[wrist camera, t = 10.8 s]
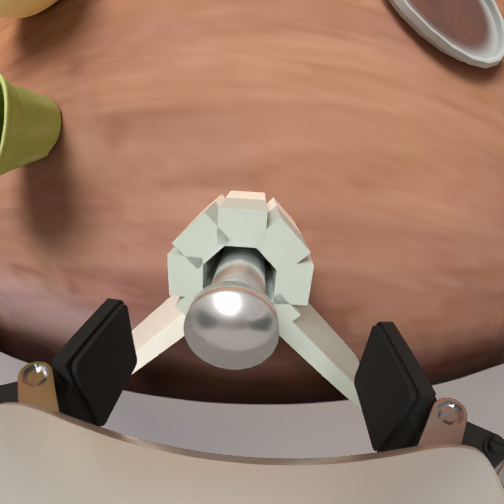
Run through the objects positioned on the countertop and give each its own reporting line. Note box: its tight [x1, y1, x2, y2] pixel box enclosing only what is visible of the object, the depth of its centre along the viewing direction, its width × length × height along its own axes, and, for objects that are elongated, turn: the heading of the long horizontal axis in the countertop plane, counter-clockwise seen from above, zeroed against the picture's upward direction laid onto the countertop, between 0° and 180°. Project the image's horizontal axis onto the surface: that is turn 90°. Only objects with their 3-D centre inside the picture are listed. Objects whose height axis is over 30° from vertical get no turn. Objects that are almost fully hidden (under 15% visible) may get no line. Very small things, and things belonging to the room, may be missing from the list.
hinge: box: [132, 191, 362, 410], centre depth 20 cm, size 24×16×7 cm
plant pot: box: [0, 73, 61, 175], centre depth 15 cm, size 9×9×9 cm
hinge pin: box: [184, 246, 279, 370], centre depth 16 cm, size 4×4×12 cm
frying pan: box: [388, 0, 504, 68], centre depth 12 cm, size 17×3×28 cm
